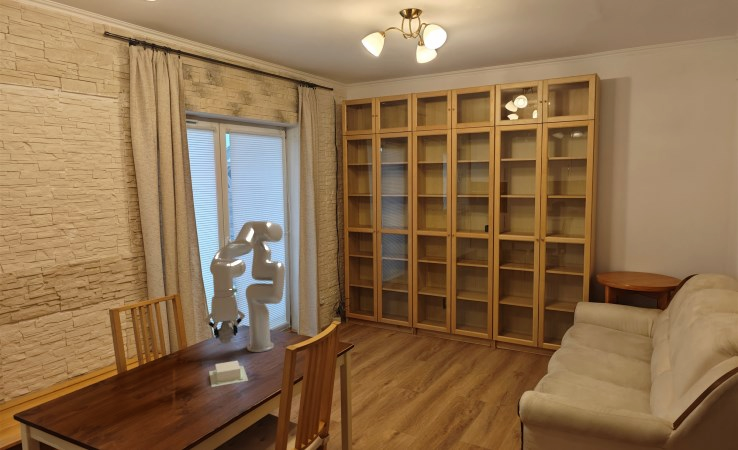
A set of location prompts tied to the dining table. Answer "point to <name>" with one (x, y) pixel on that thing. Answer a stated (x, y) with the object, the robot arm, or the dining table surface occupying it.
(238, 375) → the cream brick
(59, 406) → the dining table surface
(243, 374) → the base plate
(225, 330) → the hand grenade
